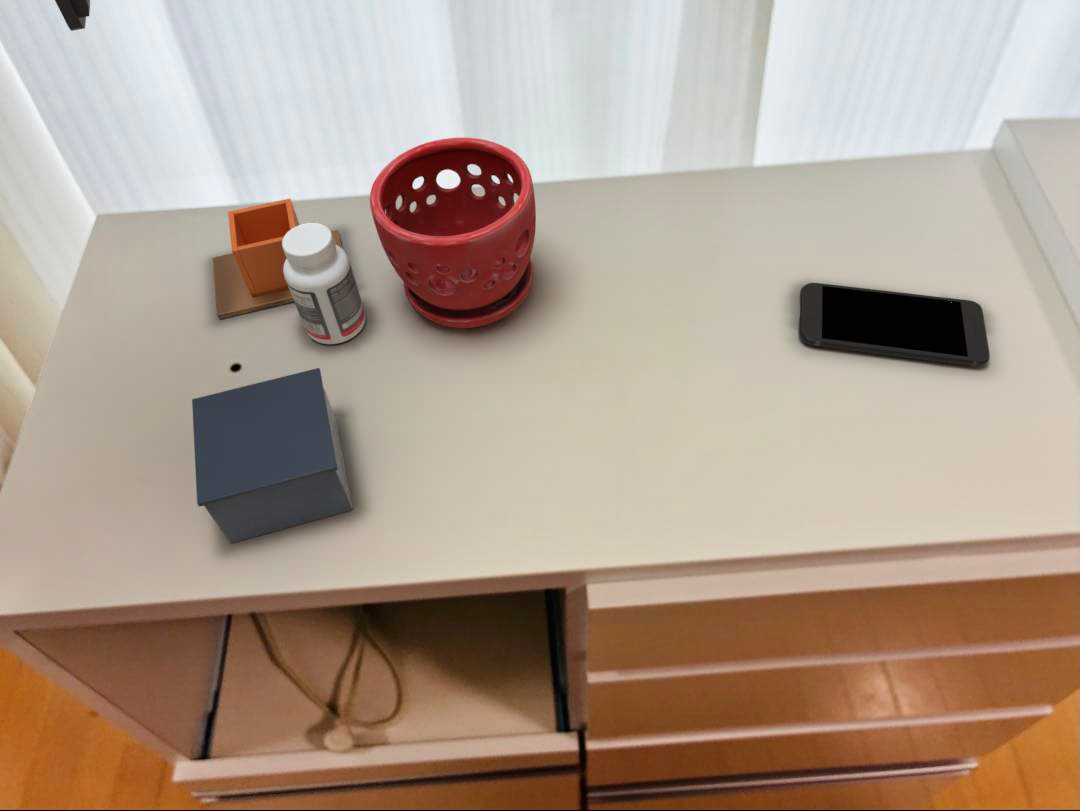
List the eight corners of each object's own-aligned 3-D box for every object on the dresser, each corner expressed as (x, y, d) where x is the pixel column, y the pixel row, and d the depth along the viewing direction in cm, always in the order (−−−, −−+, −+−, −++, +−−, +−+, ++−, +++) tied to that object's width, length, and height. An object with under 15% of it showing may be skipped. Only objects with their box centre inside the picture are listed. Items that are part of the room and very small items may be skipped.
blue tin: (227, 547, 60) (197, 504, 55) (220, 446, 65) (191, 399, 60) (356, 511, 61) (337, 466, 56) (338, 415, 67) (319, 367, 62)
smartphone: (799, 285, 73) (801, 277, 73) (979, 306, 71) (983, 298, 70) (796, 346, 69) (799, 339, 68) (988, 371, 66) (992, 364, 66)
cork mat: (219, 319, 74) (216, 315, 73) (214, 262, 79) (212, 257, 78) (351, 288, 76) (350, 283, 75) (339, 234, 80) (337, 229, 80)
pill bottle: (359, 295, 75) (333, 209, 67) (372, 336, 72) (347, 250, 64) (300, 312, 74) (267, 226, 66) (311, 353, 71) (278, 269, 63)
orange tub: (252, 297, 75) (231, 251, 70) (247, 258, 78) (227, 211, 74) (313, 283, 75) (297, 236, 71) (306, 244, 79) (290, 197, 74)
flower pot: (414, 239, 79) (392, 130, 70) (549, 249, 78) (545, 138, 68) (378, 339, 72) (347, 231, 62) (527, 352, 70) (518, 243, 60)
